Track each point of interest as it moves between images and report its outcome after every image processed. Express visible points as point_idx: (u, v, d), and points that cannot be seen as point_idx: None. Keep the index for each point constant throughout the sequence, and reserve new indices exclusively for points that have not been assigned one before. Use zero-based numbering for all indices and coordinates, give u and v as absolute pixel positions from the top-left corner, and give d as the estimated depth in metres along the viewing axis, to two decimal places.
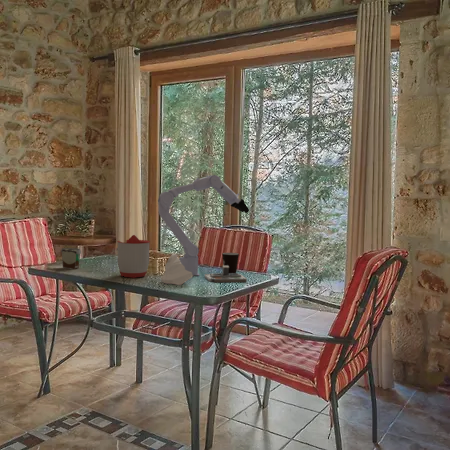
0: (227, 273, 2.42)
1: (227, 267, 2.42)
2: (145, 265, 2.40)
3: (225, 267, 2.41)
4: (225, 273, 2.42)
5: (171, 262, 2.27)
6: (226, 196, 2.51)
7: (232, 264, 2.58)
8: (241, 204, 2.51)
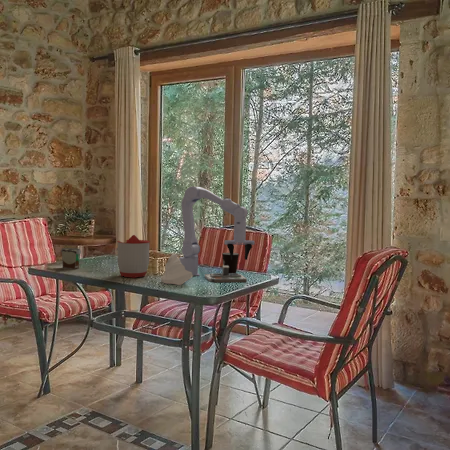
0: (227, 273, 2.42)
1: (227, 267, 2.42)
2: (145, 265, 2.40)
3: (225, 267, 2.41)
4: (225, 273, 2.42)
5: (171, 262, 2.27)
6: None
7: (232, 264, 2.58)
8: None
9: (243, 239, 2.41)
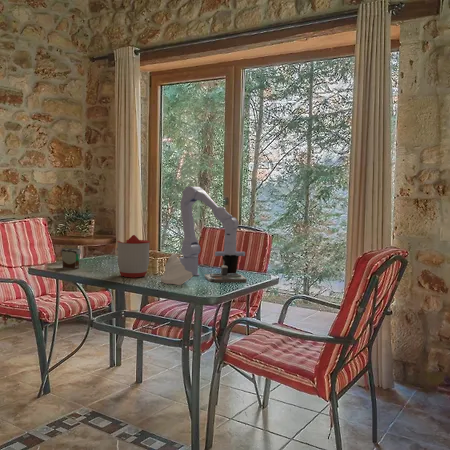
0: (226, 273, 2.42)
1: (226, 267, 2.42)
2: (145, 265, 2.40)
3: (224, 267, 2.41)
4: (224, 273, 2.42)
5: (171, 262, 2.27)
6: None
7: None
8: None
9: (233, 250, 2.41)
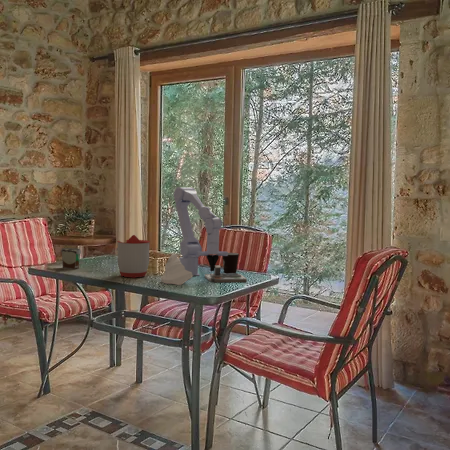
0: (219, 273, 2.41)
1: (219, 267, 2.41)
2: (145, 265, 2.40)
3: (217, 267, 2.41)
4: (217, 273, 2.41)
5: (171, 262, 2.27)
6: None
7: (232, 264, 2.58)
8: None
9: (216, 250, 2.39)
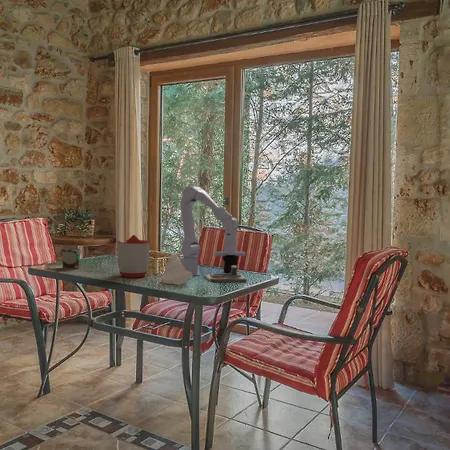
0: (235, 273, 2.43)
1: (235, 267, 2.42)
2: (145, 265, 2.40)
3: (233, 267, 2.42)
4: (233, 273, 2.43)
5: (171, 262, 2.27)
6: None
7: (232, 264, 2.58)
8: None
9: (233, 250, 2.41)
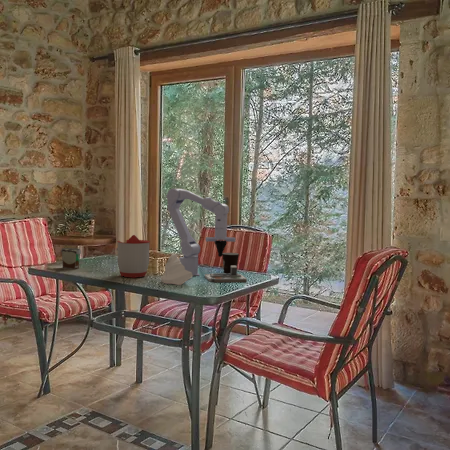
0: (235, 273, 2.43)
1: (235, 267, 2.42)
2: (145, 265, 2.40)
3: (233, 267, 2.42)
4: (233, 273, 2.43)
5: (171, 262, 2.27)
6: None
7: (232, 264, 2.58)
8: None
9: (224, 236, 2.43)
